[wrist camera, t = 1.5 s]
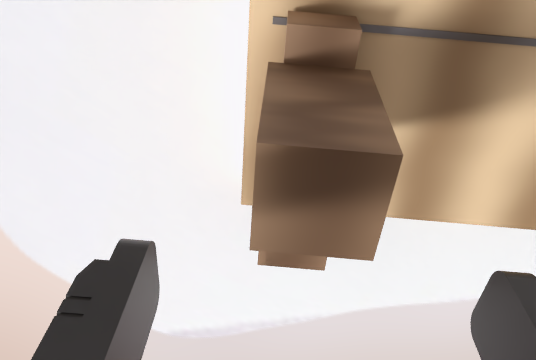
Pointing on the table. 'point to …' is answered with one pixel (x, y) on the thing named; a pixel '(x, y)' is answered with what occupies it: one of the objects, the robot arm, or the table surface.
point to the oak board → (433, 100)
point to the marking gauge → (321, 150)
